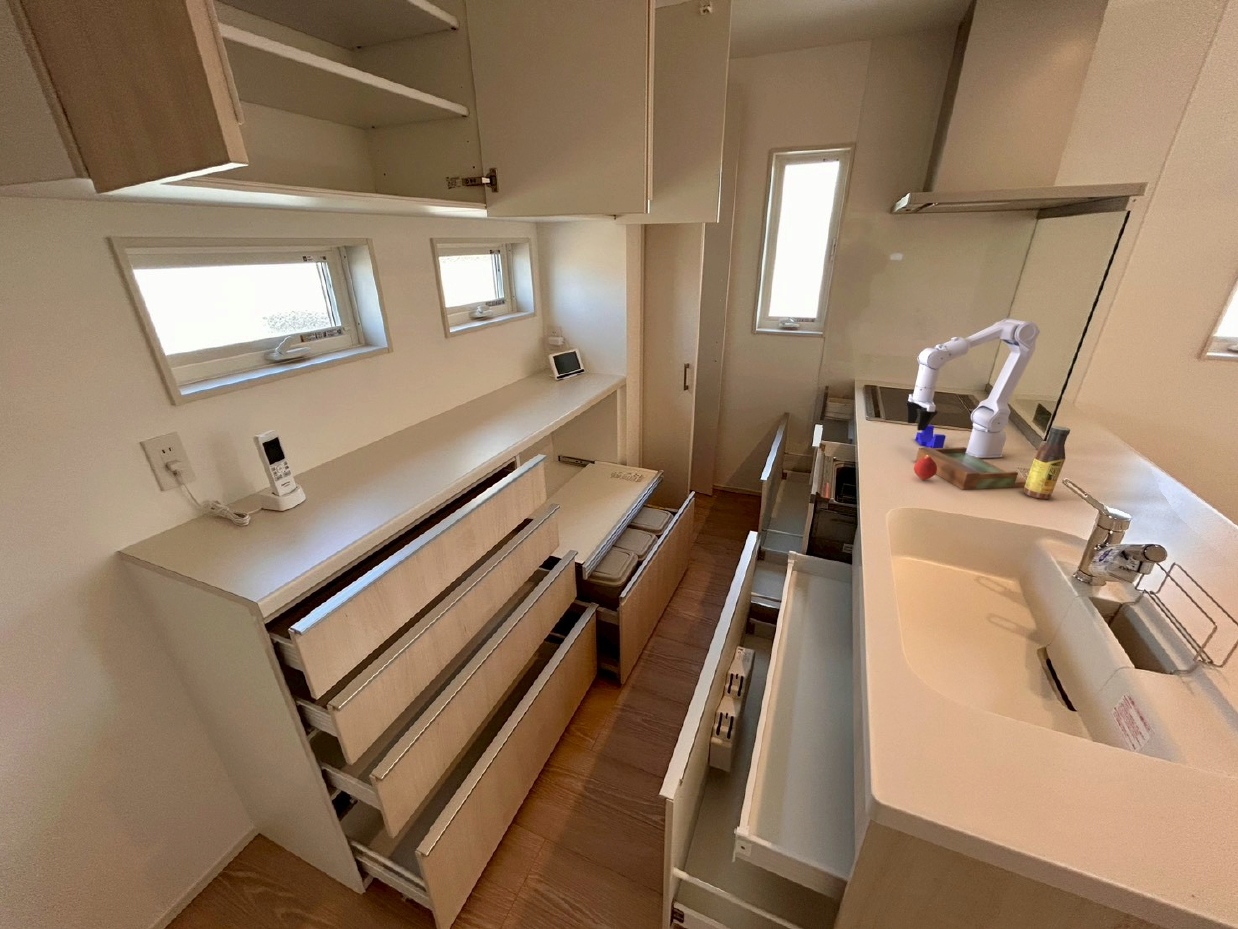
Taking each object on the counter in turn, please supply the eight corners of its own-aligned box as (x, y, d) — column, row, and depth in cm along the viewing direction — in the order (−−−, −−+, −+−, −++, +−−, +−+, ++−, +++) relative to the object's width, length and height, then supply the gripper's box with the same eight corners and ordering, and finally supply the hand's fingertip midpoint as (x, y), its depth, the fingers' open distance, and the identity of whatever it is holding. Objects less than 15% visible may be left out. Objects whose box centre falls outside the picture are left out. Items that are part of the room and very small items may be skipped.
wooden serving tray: (972, 459, 164) (976, 445, 162) (1026, 486, 145) (1031, 470, 143) (915, 462, 162) (918, 447, 160) (962, 489, 143) (967, 473, 141)
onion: (931, 477, 151) (937, 453, 148) (935, 485, 146) (942, 459, 143) (909, 475, 153) (915, 450, 150) (913, 482, 148) (919, 457, 145)
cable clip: (915, 440, 182) (919, 424, 180) (928, 440, 181) (932, 425, 179) (927, 451, 171) (931, 435, 169) (941, 452, 170) (945, 436, 168)
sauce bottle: (1043, 502, 136) (1068, 433, 128) (1017, 493, 141) (1040, 426, 133) (1055, 497, 138) (1080, 429, 131) (1029, 488, 144) (1052, 423, 136)
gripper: (902, 381, 167) (894, 419, 172) (922, 391, 154) (912, 433, 159) (925, 381, 166) (915, 420, 172) (946, 392, 153) (936, 433, 158)
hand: (915, 426), depth 165 cm, fingers open, 7 cm apart
